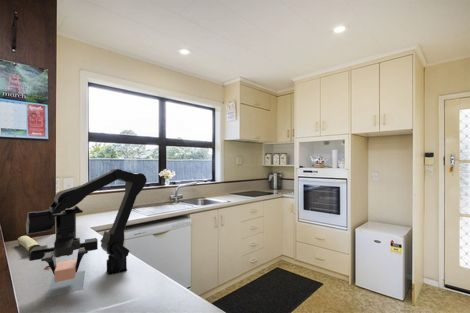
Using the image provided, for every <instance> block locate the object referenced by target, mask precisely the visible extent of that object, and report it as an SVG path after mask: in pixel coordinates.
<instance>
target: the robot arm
mask: <svg viewBox="0 0 470 313" xmlns="http://www.w3.org/2000/svg"><path fill="white" fill-rule="evenodd" d="M147 180H148V179H147V177H146V175H145V174H143V173H140V172H130V171H126V170H122V169H121V168H113V169H111V170H110V171H107V172H106V173H104V174H101V175H99V176H98V177H95V178H93V179H91V180H89V181H87V182H85V183H83V184H81V185H77V186H73V187H70V188H66V189H64V190H60V191H58V192H57V193H55V195H54V197H53V202H51V204H50V205H49V206H48V208H47V209H46V210H40V211H29V212H27V217H26V222H25V230H26V235H27V236H29V235H33V234H38V233H44V232H49V231H51V229H53V228H54V227H55V241H54V243H53V246H52V247H48V244H46V245H40V246H38V247H34V248H33V249H32V250H31V252H30V253H29V252H28V253H29V254H28V261H30V262H33V261H38V260H41V262H46V263H47V264H48V266H50V267H49V268H51V269H50V270H51V272H52V274H53V275H54V271H55V269H56V266H57V261H56V258H61V257H66V256H67V257H69V256H71V255H72V256H73V254H74V251H76V250H77V256H76V259H77V262H76V272H79V271H78V270H79V268H80V265H81V262H82V259H83V258H84V255H86V254H89V252H91V251H96V250H98V244H99V243H98V239H97V237H94V238H93V237H92V238H87V239H84V242H81V238H80V237H77V215H78V214H82V213H83V212H84V211H83V210H82V209H81V208H80V207H79V206H77V205H78V204H79V203H81V202H82V201H83V200H84V199H85V198H86V197H87V196H89V195H90V194H93V193H95V192H97V191H98V190H100V189H102V188H104V187H107V186H108V185H110V184H112V183H113V182H115V181H121V182H124V184H125V185H124V196H123V198H122V200H121V203H120V205H119V208H118V211H117V213H116V216H115V219H114V222H113V224H112V226H111V228H110V229H109V230H108V231H107V230H105V231H104V232H103V236H102V237H101V240H99V241H100V243H101V244H100V247H101V249H102V250H103V251H105V252H106V254H107V255H108V258H107V259H106V273H107V274H108V275H109V276H112V275H115V274H116V275H117V274H121V273H124V272H125V273H126V272H127V271H128V268H127V263H128V262H127V257H129V253H130V249H128V248H127V247H125V246H124V243H125V229H126V226H127V224H128V221H129V218H130V216H131V212H132V211H133V207H134V205H135V202H136V199H137V197H138V196H139V194H141V192H142V190H143V189H144V187H145V186H146V183H147Z"/></svg>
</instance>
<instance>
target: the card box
mask: <svg viewBox="0 0 470 313" xmlns="http://www.w3.org/2000/svg"><path fill="white" fill-rule="evenodd" d="M76 262H77V258H75V259H72V260H64V261H59V262H57V263H56V269H55V271H54V274H53V277H54V283H55V282H59V281H64V280H69V279H74V278H75V275H76Z"/></svg>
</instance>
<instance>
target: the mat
mask: <svg viewBox="0 0 470 313" xmlns="http://www.w3.org/2000/svg"><path fill="white" fill-rule="evenodd" d="M85 273H86V270H82V271H77V272H76V275H75V278H74V279H69V280H64V281H59V282H55V283H54V276H53V277H52V279H51V282H50V284H49V287H48V289H47V293H46V295H45V299H48V298H51V297H56V296H59V295H64V294H69V293H73V292H76V291H80V290H84V283H85V276H86V275H85Z"/></svg>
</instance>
